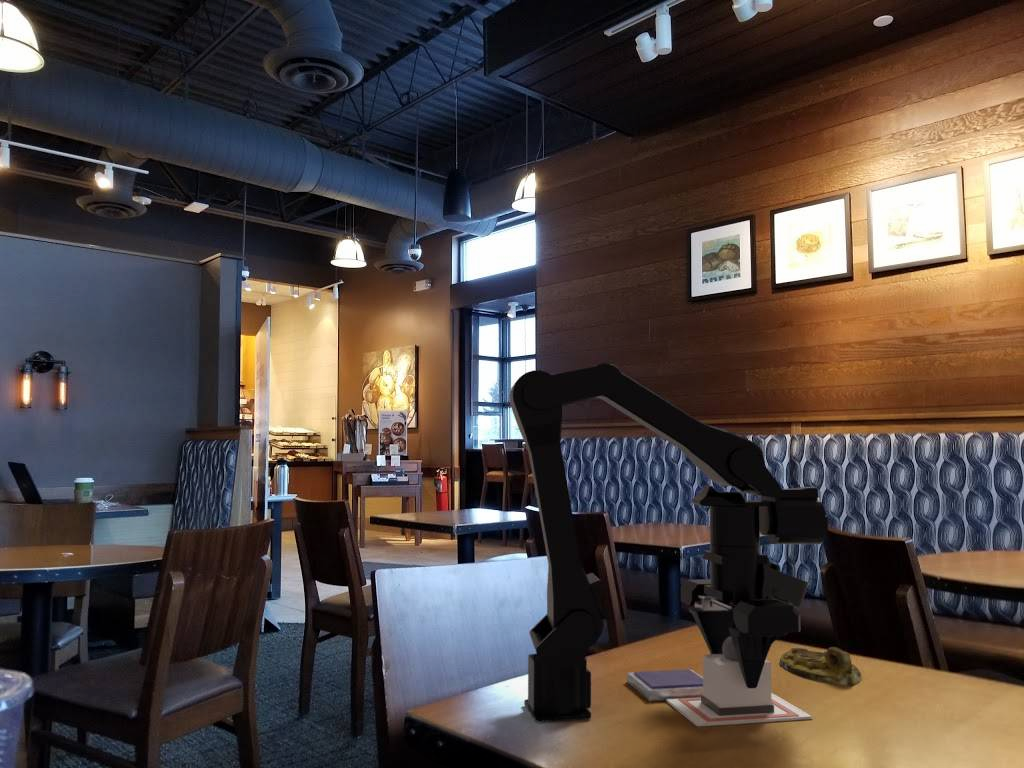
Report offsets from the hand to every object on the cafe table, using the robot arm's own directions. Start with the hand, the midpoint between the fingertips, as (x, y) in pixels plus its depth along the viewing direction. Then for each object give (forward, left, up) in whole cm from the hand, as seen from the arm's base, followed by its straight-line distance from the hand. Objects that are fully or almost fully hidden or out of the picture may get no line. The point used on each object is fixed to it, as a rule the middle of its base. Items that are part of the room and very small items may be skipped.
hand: (736, 678), depth 93 cm
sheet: (0, 0, -4) cm, 4 cm away
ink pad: (-4, +9, -4) cm, 11 cm away
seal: (+20, +14, -4) cm, 25 cm away
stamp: (0, 0, -3) cm, 3 cm away
